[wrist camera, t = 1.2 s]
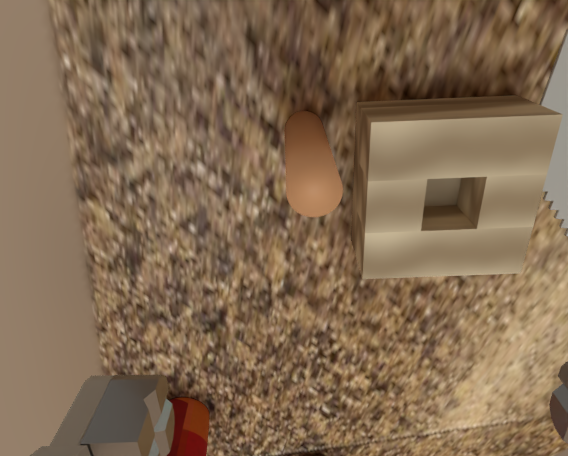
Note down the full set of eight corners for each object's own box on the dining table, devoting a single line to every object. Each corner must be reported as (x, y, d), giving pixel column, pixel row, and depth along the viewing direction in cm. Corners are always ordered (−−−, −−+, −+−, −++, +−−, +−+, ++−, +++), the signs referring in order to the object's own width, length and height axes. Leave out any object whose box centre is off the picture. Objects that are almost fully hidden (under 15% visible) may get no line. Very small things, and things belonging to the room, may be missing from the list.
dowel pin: (283, 111, 33) (285, 166, 22) (323, 110, 33) (343, 163, 22) (285, 149, 34) (287, 218, 24) (323, 148, 34) (342, 216, 24)
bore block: (356, 102, 32) (371, 122, 27) (516, 95, 32) (562, 114, 27) (351, 239, 38) (362, 279, 33) (487, 234, 38) (520, 273, 33)
